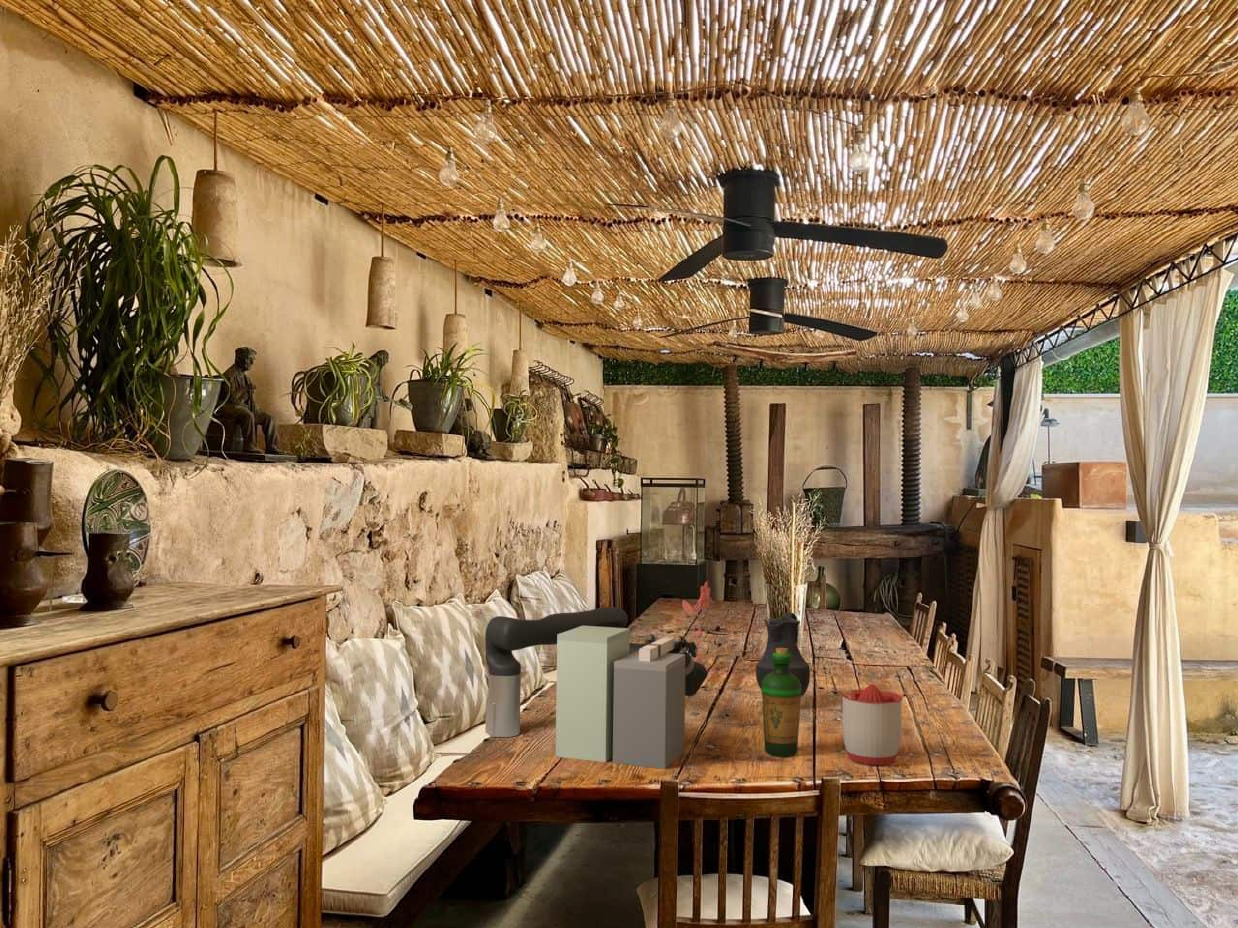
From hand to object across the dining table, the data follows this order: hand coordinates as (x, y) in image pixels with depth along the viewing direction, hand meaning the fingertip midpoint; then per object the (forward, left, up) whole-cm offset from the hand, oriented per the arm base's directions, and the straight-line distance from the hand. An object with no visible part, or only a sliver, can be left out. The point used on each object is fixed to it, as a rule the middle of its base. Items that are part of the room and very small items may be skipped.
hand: (665, 637), depth 269 cm
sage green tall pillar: (-20, +2, -29) cm, 36 cm away
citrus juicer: (+43, -33, -30) cm, 62 cm away
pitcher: (+59, +28, -30) cm, 72 cm away
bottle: (+25, -19, -30) cm, 44 cm away
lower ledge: (-9, -9, -29) cm, 32 cm away
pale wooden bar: (-5, -5, -3) cm, 8 cm away
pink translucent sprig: (+64, +88, -30) cm, 113 cm away
